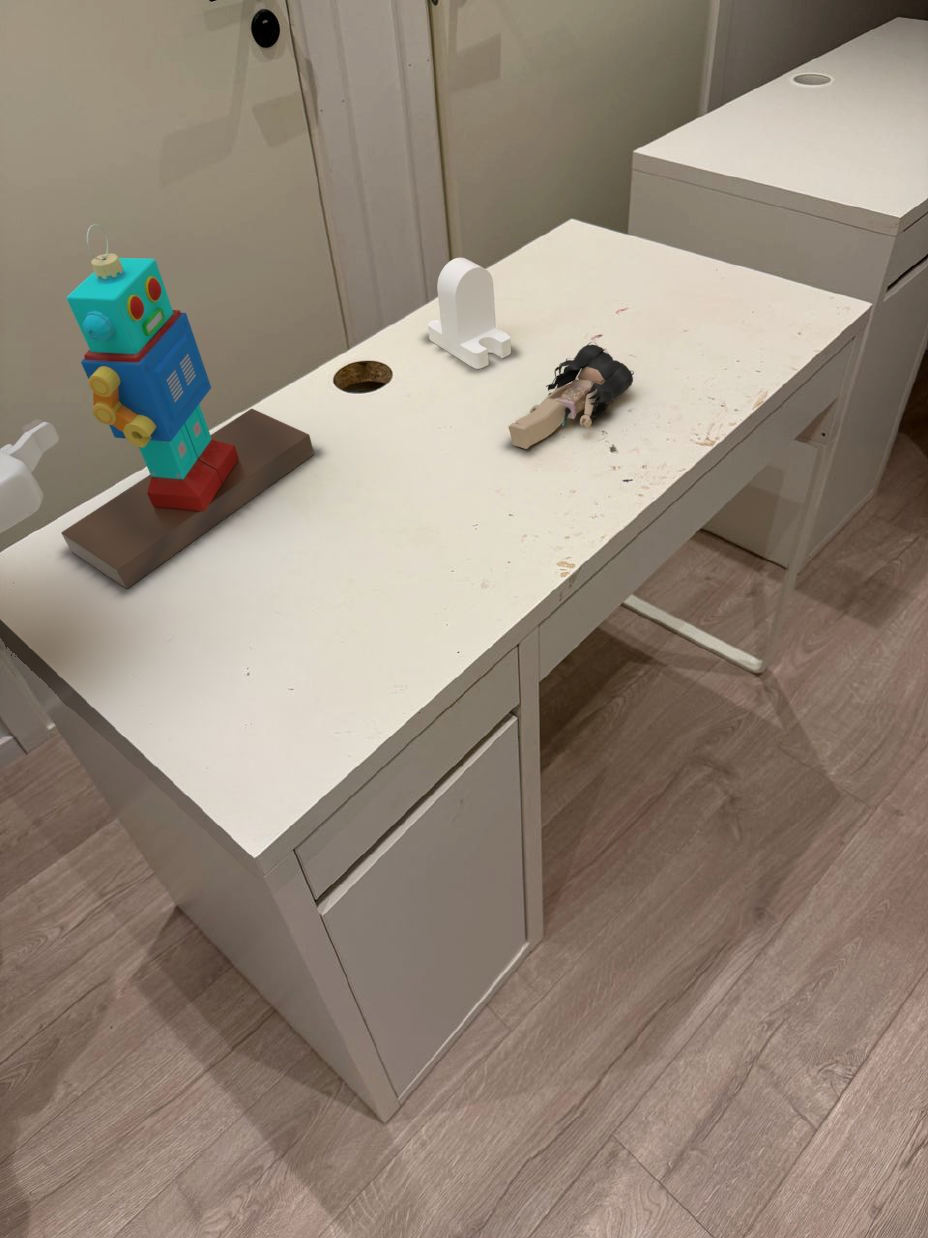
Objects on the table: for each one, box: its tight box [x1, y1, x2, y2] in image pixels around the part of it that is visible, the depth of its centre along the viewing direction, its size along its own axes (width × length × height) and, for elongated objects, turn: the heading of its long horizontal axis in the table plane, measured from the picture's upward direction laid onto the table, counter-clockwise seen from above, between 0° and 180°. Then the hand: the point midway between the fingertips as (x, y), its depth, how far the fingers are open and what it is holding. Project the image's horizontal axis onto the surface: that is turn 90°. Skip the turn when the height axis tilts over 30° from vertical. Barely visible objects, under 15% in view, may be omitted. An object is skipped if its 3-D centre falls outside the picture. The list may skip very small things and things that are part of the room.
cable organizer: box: [427, 257, 512, 370], centre depth 101 cm, size 5×10×10 cm, turn 37°
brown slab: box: [60, 408, 315, 590], centre depth 87 cm, size 24×9×2 cm, turn 141°
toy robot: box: [66, 223, 239, 512], centre depth 77 cm, size 12×6×25 cm, turn 167°
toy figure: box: [508, 341, 635, 450], centre depth 91 cm, size 7×6×15 cm
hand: (14, 412), depth 70 cm, fingers open, 8 cm apart
